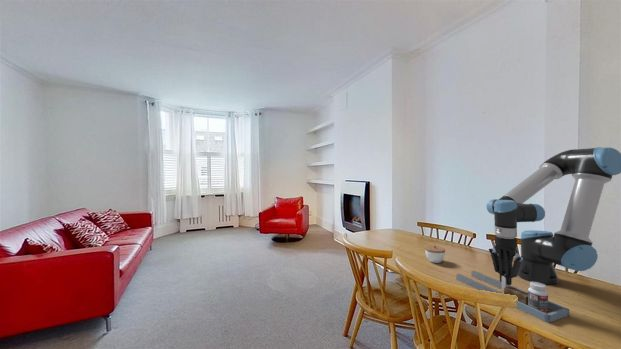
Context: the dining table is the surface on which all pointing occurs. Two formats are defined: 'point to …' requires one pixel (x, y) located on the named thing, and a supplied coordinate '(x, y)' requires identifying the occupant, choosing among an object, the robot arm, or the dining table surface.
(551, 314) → the corral tray
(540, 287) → the pill bottle
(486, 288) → the slot rails
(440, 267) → the dining table surface
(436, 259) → the lidded jar
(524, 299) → the walnut chip
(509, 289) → the walnut chip
